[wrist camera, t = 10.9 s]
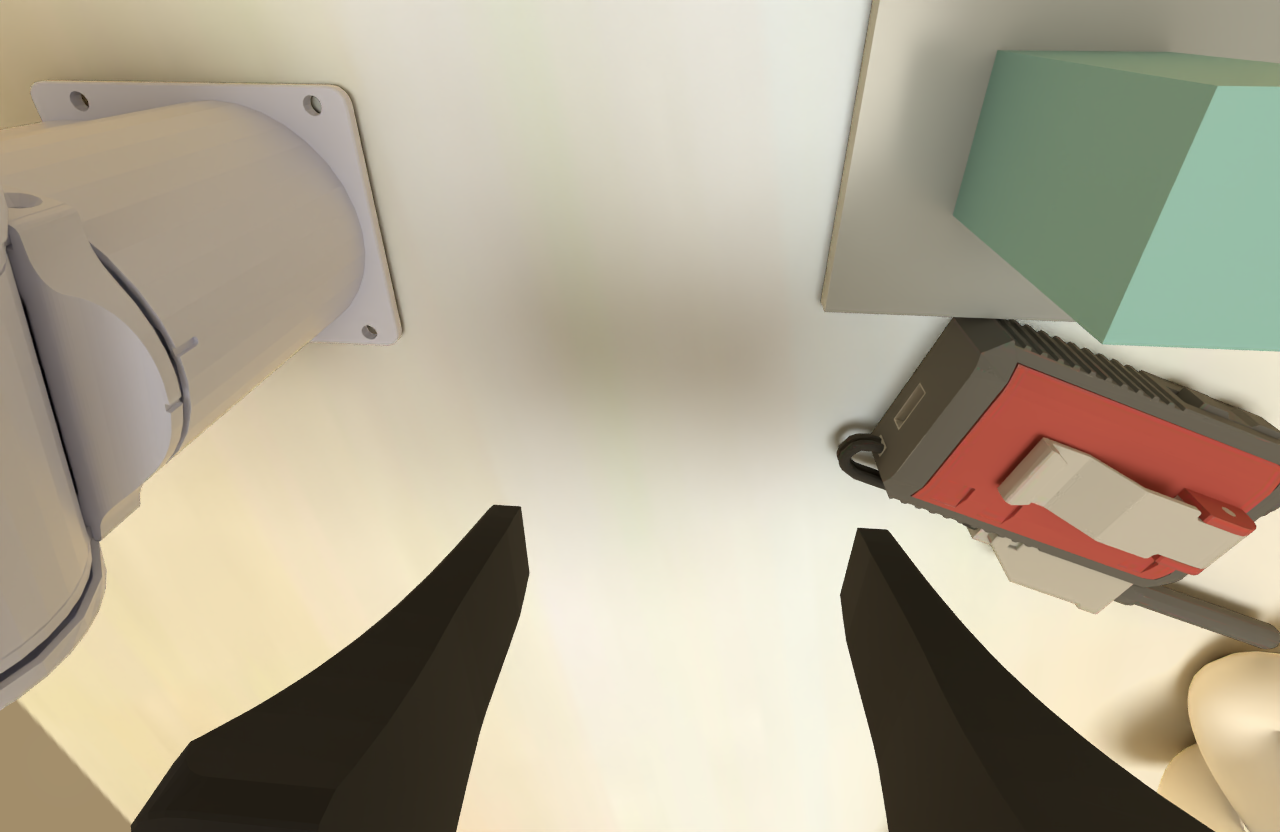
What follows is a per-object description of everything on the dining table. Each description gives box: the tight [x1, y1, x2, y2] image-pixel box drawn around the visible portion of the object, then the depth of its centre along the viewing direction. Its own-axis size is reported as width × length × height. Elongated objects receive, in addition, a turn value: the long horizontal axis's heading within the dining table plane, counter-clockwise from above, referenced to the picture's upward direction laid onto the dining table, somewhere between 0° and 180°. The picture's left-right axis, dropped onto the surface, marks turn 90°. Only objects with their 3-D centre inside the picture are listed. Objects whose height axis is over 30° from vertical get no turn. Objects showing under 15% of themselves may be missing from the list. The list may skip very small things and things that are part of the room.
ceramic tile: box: [821, 0, 1280, 322], centre depth 17 cm, size 10×10×1 cm
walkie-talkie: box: [837, 317, 1280, 649], centre depth 22 cm, size 9×4×20 cm
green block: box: [953, 50, 1280, 351], centre depth 13 cm, size 4×4×8 cm
